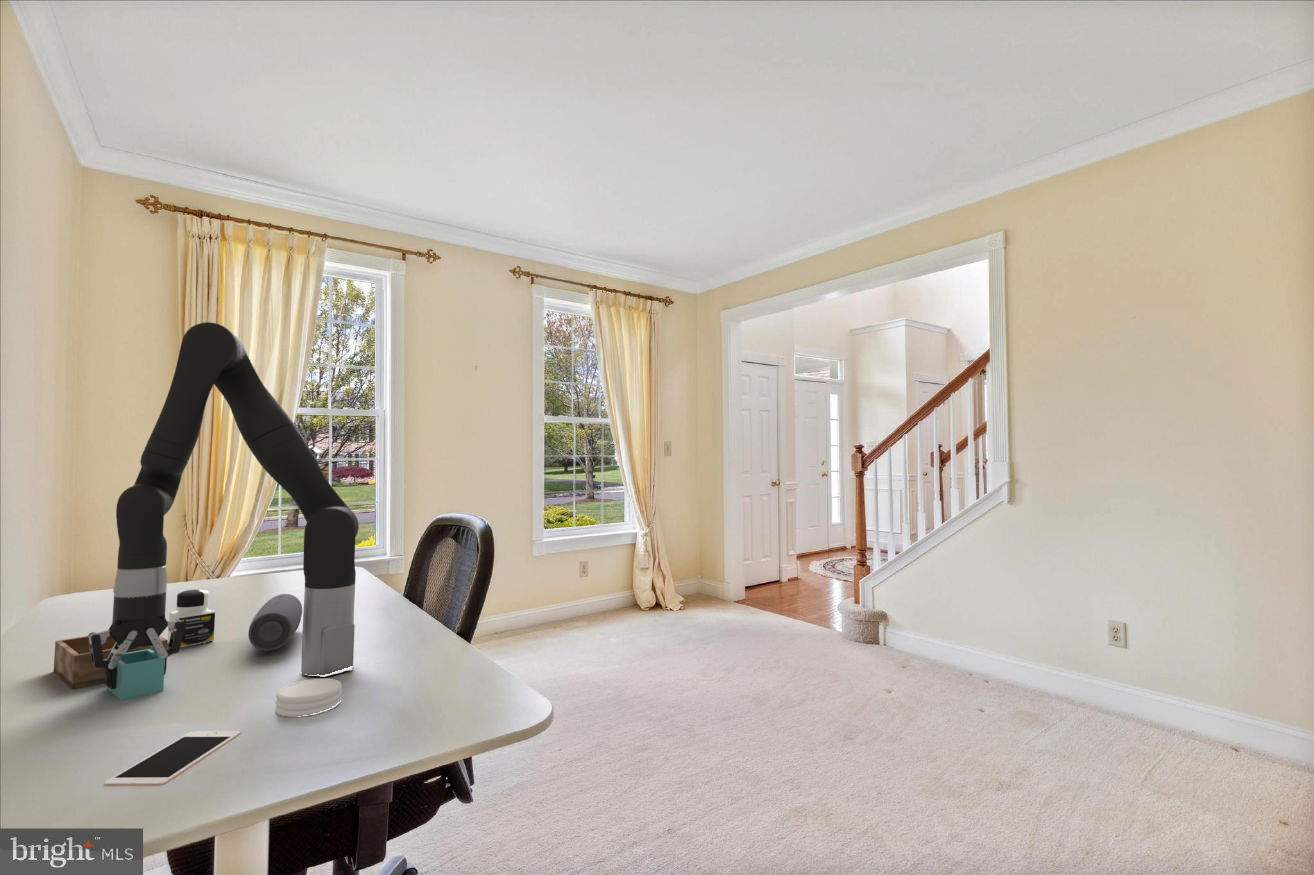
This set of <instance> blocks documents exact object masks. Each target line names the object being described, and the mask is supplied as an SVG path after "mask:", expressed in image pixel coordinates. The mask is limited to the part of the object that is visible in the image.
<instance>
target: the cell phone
mask: <svg viewBox="0 0 1314 875" xmlns="http://www.w3.org/2000/svg"><path fill="white" fill-rule="evenodd" d="M241 734H242V731H237V730H236V731H234V730H232V731H231V730H229V731H227V730H226V731H223V730H222V731H215V730H213V731H211V730H210V731H205V730H204V731H201V730H200V731H197V730H196V731H190V732H188V733H186V734H184V735H182V736H180V737H179V738H178V739H176V740H174V741H172V742H170V743H169V744H167V745H166V746H164V747H162V748H160V749H159V750H157V751H155V752H153V753H152V754H150V755H149V756H147V757H145V758H144V759H142V760H139V761H138V762H136V763H134V764H133V765H131V766H130V767H128V768H126V769H125V770H122V771H121V772H119V773H117V774H116V775H113V776H112V777H110V778H109V779H108V780H106V781H104V782H103V785H104V786H162V785H165V784H167V783H169V782H170V781H172V780H173V779H175V778H176V777H177V776H180V775H181V774H183V773H184V772H185V771H187V770H188V769H190V768H191V767H192V766H194V765H196V764H197V763H199V762H201V761H202V760H203V759H204V758H207V757H208V756H209V755H211V754H212V753H214V752H215V751H217V750H219V749H220V748H221V747H223V746H224V745H226V744H228V743H229V742H231V741H232V740H233V739H235V738H237V737H238V736H239V735H241Z"/></svg>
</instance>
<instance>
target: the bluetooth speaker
mask: <svg viewBox="0 0 1314 875" xmlns="http://www.w3.org/2000/svg"><path fill="white" fill-rule="evenodd" d="M302 615H303V604H302V602H301V601H300V600H299V598H298V597H296V596H295V595H294V594H293V595H292V594H289V593H280V594H278V595H275V596H274V597H272V598H270V599H268V601H266V602H265V603H264V604H263V605H262V606H261V608H259V610H258V611H257V613H256V614H255V616H254V617H253V619H252V621H251V622H250V625H249V628H248V634H247V635H248V640H249V642H250V644H251V645H252V647H254V648H255V649H257V650H260V651H264V652H265V651H266V652H267V651H268V652H269V651H271V652H272V651H275V650H278V649H280V647H281V648H282V647H284V645H286V644H287V643H288V642H289V641H290V640H291V639H292V637H293V635H295V633H296V631H297V630H298V629H299V626H300V623H301V621H302V617H303V616H302Z"/></svg>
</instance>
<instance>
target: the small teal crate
mask: <svg viewBox="0 0 1314 875" xmlns="http://www.w3.org/2000/svg"><path fill="white" fill-rule="evenodd" d="M164 666H165V657H163V656H161V655H159V654H157V653H156V652H154V651H153V650H151V649H146V650H140V651H135V652H129V653H125V654H124V656H122V657H121V659H120V661H119V662H118V664H117V666H116V668H117V681H116V689H112V690H111V689H109V687H107V686H106V688H107V691H109V690H110V691H111V692H112V693H111V692H110V691H109V692H110V693H111V694H113V693H114V694H115V695H116V696H117V697H116V696H115V695H114V694H113V695H114V696H115V697H116V698H117V699H119V700H120V699H121V700H120V701H124V699H125V700H128V699H134V698H137V697H138V698H139V697H142V696H147V695H151V694H155V693H160V692H163V691H164V683H165V682H164V680H165V675H164ZM150 693H151V694H150Z"/></svg>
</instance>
